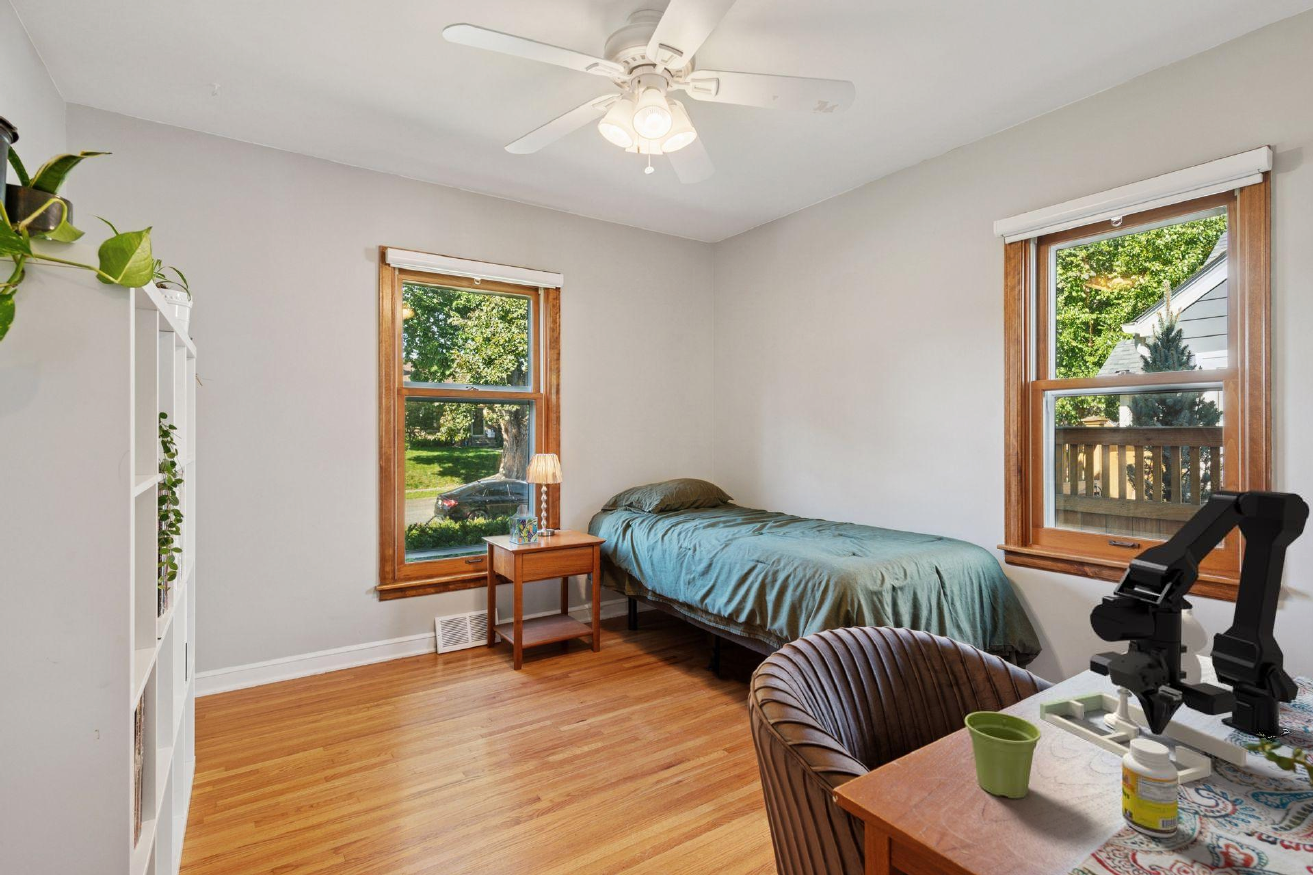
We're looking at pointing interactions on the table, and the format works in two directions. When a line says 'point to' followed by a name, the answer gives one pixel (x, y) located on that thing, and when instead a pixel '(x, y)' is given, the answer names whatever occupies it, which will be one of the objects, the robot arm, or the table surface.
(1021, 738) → the plant pot
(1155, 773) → the supplement bottle
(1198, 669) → the cat figurine
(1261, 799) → the table surface
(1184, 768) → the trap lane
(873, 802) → the table surface
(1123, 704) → the chess piece
